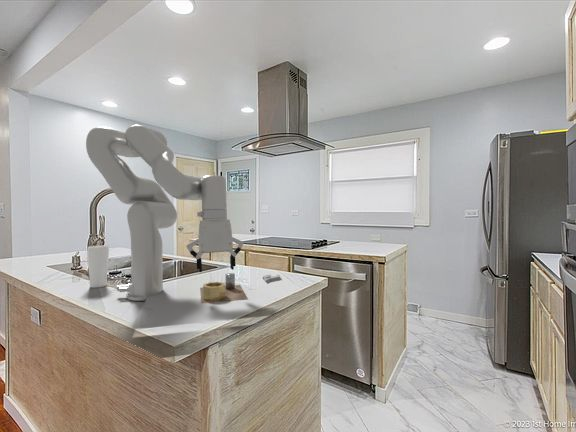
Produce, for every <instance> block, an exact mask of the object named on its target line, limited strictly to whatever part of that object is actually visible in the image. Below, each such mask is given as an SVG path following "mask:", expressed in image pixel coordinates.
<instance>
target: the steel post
mask: <svg viewBox="0 0 576 432" xmlns="http://www.w3.org/2000/svg"><path fill="white" fill-rule="evenodd" d="M235 285H236V274H235V273H234V272H232V273H231V272H229V273H225V286H226V289H227V290H233V289H235Z"/></svg>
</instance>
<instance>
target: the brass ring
mask: <svg viewBox="0 0 576 432" xmlns="http://www.w3.org/2000/svg"><path fill="white" fill-rule="evenodd" d="M225 286H226V282H221V281H212V282H210V281H209V282H207V283H203V284H202V288H203V299H204V300H209V301H213V300H221V299H223V298H225Z"/></svg>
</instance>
